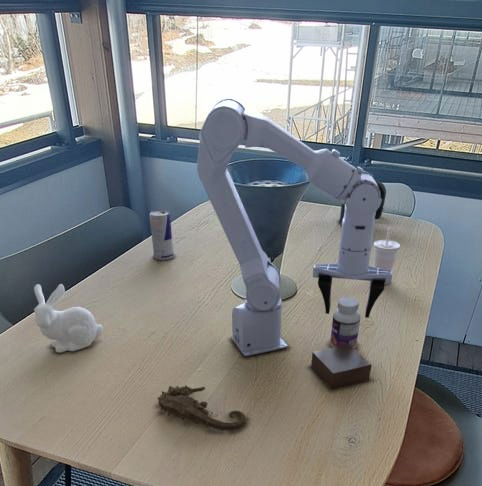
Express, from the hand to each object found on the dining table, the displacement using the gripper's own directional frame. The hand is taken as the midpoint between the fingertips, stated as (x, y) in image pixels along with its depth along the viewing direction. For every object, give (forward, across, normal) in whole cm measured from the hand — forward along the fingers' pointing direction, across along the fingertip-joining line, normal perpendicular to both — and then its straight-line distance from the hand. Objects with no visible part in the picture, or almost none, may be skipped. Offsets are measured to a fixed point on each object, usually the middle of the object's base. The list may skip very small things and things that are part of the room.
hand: (347, 313), depth 104 cm
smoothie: (+7, -7, -34) cm, 35 cm away
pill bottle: (+7, 0, 0) cm, 7 cm away
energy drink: (+7, +52, -37) cm, 64 cm away
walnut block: (+7, 0, +11) cm, 13 cm away
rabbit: (+7, +55, +12) cm, 57 cm away
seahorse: (+7, +23, +27) cm, 36 cm away
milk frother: (+8, 0, -82) cm, 82 cm away
